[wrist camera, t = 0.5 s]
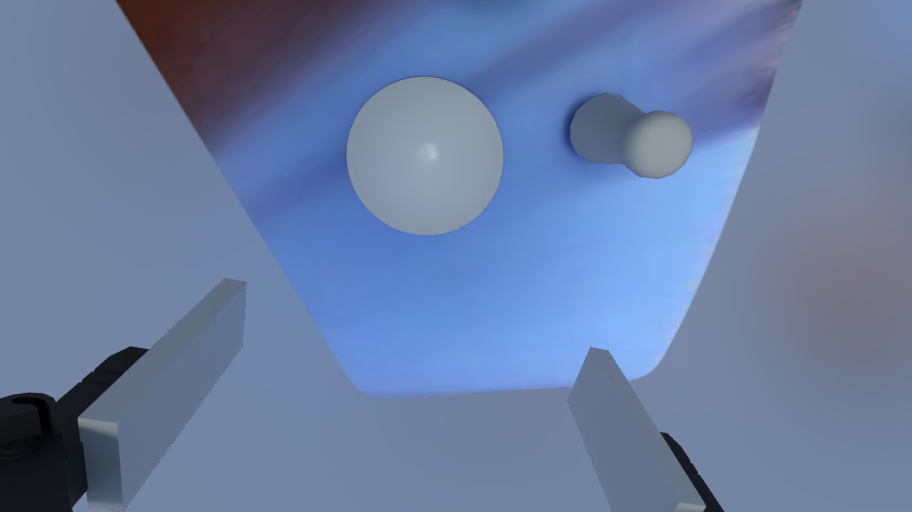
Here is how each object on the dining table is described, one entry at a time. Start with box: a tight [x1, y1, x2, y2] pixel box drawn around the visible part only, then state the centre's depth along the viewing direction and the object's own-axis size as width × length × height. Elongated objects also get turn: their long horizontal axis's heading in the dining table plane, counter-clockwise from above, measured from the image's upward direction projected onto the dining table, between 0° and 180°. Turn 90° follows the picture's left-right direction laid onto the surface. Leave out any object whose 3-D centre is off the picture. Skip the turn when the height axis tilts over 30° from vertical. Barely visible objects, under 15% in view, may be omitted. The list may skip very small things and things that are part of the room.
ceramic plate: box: [346, 77, 504, 235], centre depth 38 cm, size 14×14×1 cm
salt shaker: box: [570, 93, 693, 179], centre depth 33 cm, size 6×6×13 cm
